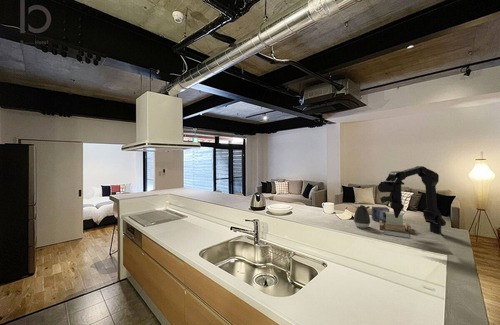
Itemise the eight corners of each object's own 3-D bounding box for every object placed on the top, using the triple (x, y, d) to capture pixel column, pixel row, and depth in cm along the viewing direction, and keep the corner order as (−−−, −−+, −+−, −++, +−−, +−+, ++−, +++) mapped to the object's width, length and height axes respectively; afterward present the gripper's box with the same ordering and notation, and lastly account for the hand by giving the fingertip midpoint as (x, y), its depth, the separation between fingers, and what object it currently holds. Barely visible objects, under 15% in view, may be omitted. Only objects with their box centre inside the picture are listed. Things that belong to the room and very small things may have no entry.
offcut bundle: (385, 229, 139) (385, 223, 139) (405, 232, 134) (405, 225, 134) (385, 230, 138) (385, 223, 138) (405, 233, 132) (405, 226, 132)
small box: (373, 221, 157) (373, 207, 157) (371, 219, 164) (371, 206, 164) (389, 223, 154) (389, 208, 154) (386, 220, 160) (386, 207, 160)
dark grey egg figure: (373, 229, 140) (373, 206, 140) (358, 229, 140) (358, 206, 140) (365, 224, 150) (365, 203, 150) (351, 224, 150) (351, 203, 150)
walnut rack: (379, 224, 151) (379, 220, 151) (409, 228, 142) (409, 223, 142) (379, 230, 138) (379, 225, 138) (412, 234, 129) (412, 229, 129)
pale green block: (386, 226, 146) (386, 212, 146) (402, 228, 141) (402, 213, 141) (386, 227, 143) (386, 213, 143) (402, 229, 138) (402, 214, 138)
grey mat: (383, 231, 135) (383, 230, 135) (408, 235, 128) (408, 234, 128) (383, 234, 129) (383, 233, 129) (410, 238, 122) (410, 237, 122)
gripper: (380, 189, 141) (380, 212, 141) (380, 192, 125) (380, 218, 125) (400, 190, 135) (400, 214, 135) (403, 194, 119) (403, 221, 119)
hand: (396, 217), depth 129 cm, fingers open, 4 cm apart
